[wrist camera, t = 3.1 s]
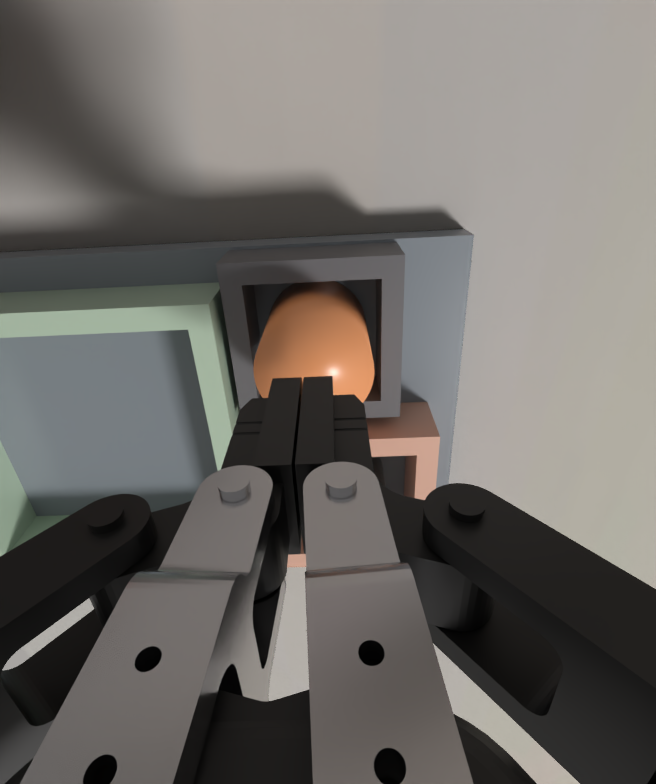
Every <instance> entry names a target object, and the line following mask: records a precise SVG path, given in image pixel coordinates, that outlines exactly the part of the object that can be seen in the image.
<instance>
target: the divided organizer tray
mask: <svg viewBox="0 0 656 784" xmlns="http://www.w3.org/2000/svg"><path fill="white" fill-rule="evenodd" d="M473 238H474V235H473V234H471V233H470V232H468V231H467V230H465V229H455V230H435V231H415V232H394V233H374V234H354V235H334V236H314V237H294V238H274V239H254V240H234V241H214V242H194V243H174V244H154V245H134V246H114V247H94V248H73V249H53V250H33V251H13V252H0V556H2V555H4V554H5V553H7V552H9V551H10V550H12V549H14V548H16V547H17V546H19V545H21V544H22V543H24V542H26V541H27V540H29V539H31V538H32V537H34V536H36V535H38V534H39V533H41V532H43V531H44V530H46V529H48V528H49V527H51V526H53V525H55V524H56V523H58V522H60V521H61V520H63V519H65V518H66V517H68V516H70V515H72V514H73V513H75V512H77V511H78V510H80V509H82V508H83V507H85V506H87V505H89V504H90V503H92V502H94V501H97V500H99V499H101V498H105V497H108V496H112V495H117V494H133V495H137V496H140V497H142V498H144V499H145V500H146V501H147V502H148V504H149V506H150V509H151V512H154V511H158V510H162V509H166V508H169V507H173V506H177V505H180V504H184V503H187V502H189V501H191V500H193V498H194V496H195V494H196V491H197V489H198V488H199V486H200V484H201V483H202V482H203V481H204V480H205V479H206V478H207V477H208V476H210V475H211V474H213V473H215V472H217V471H219V470H221V467H222V464H223V461H224V458H225V455H226V452H227V449H228V445H229V442H230V439H231V436H233V430H234V427H235V425H236V421H237V418H238V415H239V412H240V409H241V408H242V407H243V406H245V405H246V404H247V403H248V402H249V401H250V400H251V399H252V398H262V396H261V395H260V393H259V391H258V389H257V386H256V383H255V379H254V371H253V367H254V359H255V355H256V352H257V349H258V346H259V343H260V341H261V338H262V335H263V332H264V329H265V326H266V323H267V321H268V318H269V315H270V312H271V309H272V307H273V304H274V302H275V301H276V299H277V298H278V296H279V295H280V294H281V293H282V292H283V291H284V290H285V289H286V288H287V287H289V286H290V285H292V284H294V283H303V282H324V281H335V282H338V283H340V284H342V285H343V286H345V287H346V288H348V289H349V290H350V291H351V292H352V293H353V294H354V295H355V296H356V298H357V299H358V300H359V302H360V304H361V306H362V309H363V311H364V315H365V320H366V325H367V331H368V336H369V341H370V346H371V351H372V356H373V361H374V380H373V385H372V388H371V390H370V392H369V394H368V396H367V398H366V399H365V401H364V402H363V404H364V406H365V413H366V420H367V427H368V434H369V442H370V449H371V456H372V457H380V458H381V461H382V465H383V472H384V478H385V485H386V488H388V489H389V490H391V491H393V492H395V493H397V494H400V495H403V496H407V497H412V498H417V499H421V500H425V499H426V497H427V496H428V494H429V493H430V492H431V491H433V490H434V489H436V488H438V487H440V486H443V485H447V484H448V483H449V473H450V463H451V453H452V443H453V434H454V424H455V414H456V404H457V394H458V385H459V375H460V365H461V355H462V346H463V336H464V326H465V316H466V306H467V297H468V287H469V277H470V267H471V257H472V248H473ZM287 567H306V554H304V551H303V541H302V540H301V554H292V555H288V563H287Z"/></svg>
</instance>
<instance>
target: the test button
mask: <svg viewBox="0 0 656 784" xmlns="http://www.w3.org/2000/svg"><path fill="white" fill-rule="evenodd" d="M253 371H254V379H255V383H256V386H257V389H258V391H259V393H260V395H261V396H262V398H268V395H269V391H270V386H271V382H272V379H273V378H293V377H302V381H303V379H304V377H316V376H333V395H349V394H355V395H356V397H357V398H358V399H359V400H360V401H361V402H362V403H363V402H364V401H365V399H366V398H367V396H368V394H369V392H370V390H371V388H372V385H373V380H374V361H373V356H372V351H371V346H370V341H369V336H368V331H367V325H366V320H365V315H364V311H363V309H362V306H361V304H360V302H359V300H358V299H357V298H356V296H355V295H354V294H353V293H352V292H351V291H350V290H349V289H348V288H346V287H345V286H343V285H342V284H340V283H338V282H335V281H324V282H303V283H294V284H292V285H290V286H289V287H287V288H286V289H285V290H284V291H283V292H282V293H281V294H280V295H279V296H278V298H277V299H276V301H275V302H274V304H273V307H272V309H271V312H270V315H269V318H268V321H267V323H266V326H265V329H264V332H263V335H262V338H261V341H260V343H259V346H258V349H257V352H256V355H255V359H254V367H253Z"/></svg>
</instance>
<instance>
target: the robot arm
mask: <svg viewBox="0 0 656 784" xmlns="http://www.w3.org/2000/svg"><path fill="white" fill-rule="evenodd" d="M301 540H302V541H303V551H304V554H306V572H305V589H306V615H307V641H308V667H309V690H306V691H303V692H300V693H297V694H293V695H290V696H287V697H284V698H280V699H277V700H273V701H269V684H270V676H271V670H272V665H273V659H274V653H275V648H276V642H277V637H278V631H279V625H280V620H281V614H282V609H283V603H284V598H285V592H286V581H285V576H286V572H287V563H288V555H292V554H301ZM88 598H90V600H91V603H92V605H93V607H94V610H92V611H91V612H90V613H88V614H87V615H86V616H84V617H83V618H82V619H81V620H79V621H78V622H77V623H75V624H74V625H73V626H71V627H70V628H69V629H67V630H66V631H65V632H63V633H62V634H61V635H59V636H58V637H57V638H55V639H54V640H53V641H51V642H50V643H49V644H47V645H46V646H45V647H44V648H42V649H41V650H40V651H38V652H37V653H36V654H34V655H33V656H32V657H30V658H29V659H28V660H26V661H25V662H24V663H22V664H21V665H19V666H17V667H15V668H13V669H10V670H5V671H2V669H3V667H4V665H5V664H6V662H7V661H8V660H9V658H10V657H11V656H12V655H13V654H14V653H15V652H16V651H17V650H19V649H20V648H21V647H23V646H24V645H25V644H27V643H28V642H30V641H31V640H32V639H34V638H35V637H36V636H38V635H39V634H40V633H42V632H43V631H45V630H46V629H47V628H49V627H50V626H51V625H53V624H54V623H55V622H57V621H58V620H60V619H61V618H62V617H64V616H65V615H66V614H68V613H69V612H70V611H72V610H73V609H75V608H76V607H77V606H79V605H80V604H81V603H83V602H84V601H85V600H87V599H88ZM433 643H434V644H435V645H436V646H437V647H438V648H439V649H440V650H441V651H442V652H443V653H444V654H445V655H446V656H447V657H448V658H449V659H450V660H451V661H452V662H453V663H455V664H456V665H457V666H458V667H459V668H460V669H461V670H462V671H463V672H464V673H465V674H466V675H467V676H468V677H469V678H470V679H471V680H472V681H473V682H474V683H475V684H477V685H478V686H479V687H480V688H481V689H482V690H483V691H484V692H485V693H486V694H487V695H488V696H489V697H490V698H491V699H492V700H493V701H494V702H495V703H496V704H497V705H498V706H500V707H501V708H502V709H503V710H504V711H505V712H506V713H507V714H508V715H509V716H510V717H511V718H512V719H513V720H514V721H515V722H516V723H517V724H518V725H519V726H520V727H522V728H523V729H524V730H525V731H526V732H527V733H528V734H529V735H530V736H531V737H532V738H533V739H534V740H535V741H536V742H537V743H538V744H539V745H540V746H541V747H542V748H544V749H545V750H546V751H547V752H548V753H549V754H550V755H551V756H552V757H553V758H554V759H555V760H556V761H557V762H558V763H559V764H560V765H561V766H562V767H563V768H564V769H566V770H567V771H568V772H569V773H570V774H571V775H572V776H573V777H574V778H575V779H576V780H577V781H578V782H579V783H580V784H656V589H654V588H653V587H651V586H649V585H648V584H646V583H644V582H642V581H641V580H639V579H637V578H636V577H634V576H632V575H631V574H629V573H627V572H626V571H624V570H622V569H620V568H619V567H617V566H615V565H614V564H612V563H610V562H609V561H607V560H605V559H603V558H602V557H600V556H598V555H597V554H595V553H593V552H592V551H590V550H588V549H586V548H585V547H583V546H581V545H580V544H578V543H576V542H575V541H573V540H571V539H569V538H568V537H566V536H564V535H563V534H561V533H559V532H558V531H556V530H554V529H552V528H551V527H549V526H547V525H546V524H544V523H542V522H541V521H539V520H537V519H536V518H534V517H532V516H530V515H529V514H527V513H525V512H524V511H522V510H520V509H519V508H517V507H515V506H513V505H512V504H510V503H508V502H507V501H505V500H503V499H502V498H500V497H498V496H496V495H495V494H493V493H491V492H489V491H488V490H486V489H483V488H481V487H478V486H474V485H470V484H461V483H455V484H447V485H443V486H440V487H438V488H436V489H434V490H433V491H431V492H430V493H429V494H428V496H427V497H426V499H425V500H421V499H417V498H412V497H407V496H403V495H400V494H397V493H395V492H393V491H391V490H389V489H388V488H386V487H385V486H384V485H382V484H381V483H380V482H379V480H378V479H377V477H376V476H375V474H374V470H373V463H372V456H371V449H370V442H369V434H368V427H367V420H366V413H365V406H364V404H363V403H362V402H361V401H360V400H359V399H358V398H357V397H356V395H355V394H349V395H333V376H316V377H304V379H303V381H302V377H293V378H273V379H272V382H271V386H270V391H269V395H268V398H252V399H251V400H250V401H249V402H248V403H247V404H246V405H245V406H243V407H242V408H241V409H240V412H239V415H238V418H237V421H236V425H235V427H234V430H233V436H231V439H230V442H229V445H228V449H227V452H226V455H225V458H224V461H223V464H222V467H221V470H219V471H217V472H215V473H213V474H211V475H210V476H208V477H207V478H206V479H205V480H204V481H203V482H202V483H201V484H200V486H199V488H198V489H197V491H196V494H195V496H194V498H193V500H191V501H189V502H187V503H184V504H180V505H177V506H173V507H169V508H166V509H162V510H158V511H154V512H151V509H150V506H149V504H148V502H147V501H146V500H145V499H144V498H142V497H140V496H137V495H133V494H117V495H112V496H108V497H105V498H101V499H99V500H97V501H94V502H92V503H90V504H89V505H87V506H85V507H83V508H82V509H80V510H78V511H77V512H75V513H73V514H72V515H70V516H68V517H66V518H65V519H63V520H61V521H60V522H58V523H56V524H55V525H53V526H51V527H49V528H48V529H46V530H44V531H43V532H41V533H39V534H38V535H36V536H34V537H32V538H31V539H29V540H27V541H26V542H24V543H22V544H21V545H19V546H17V547H16V548H14V549H12V550H10V551H9V552H7V553H5V554H4V555H2V556H0V784H536V783H535V781H534V780H533V779H532V778H531V777H530V776H529V775H528V774H527V773H526V772H525V771H524V770H523V768H522V767H521V766H520V765H519V764H518V763H517V762H516V761H515V760H514V759H513V758H512V757H511V756H510V755H509V754H508V753H507V752H506V751H505V750H504V749H503V748H502V747H500V746H499V745H498V744H497V743H496V742H495V741H494V740H492V739H491V738H490V737H489V736H488V735H486V734H485V733H484V732H482V731H481V730H479V729H478V728H476V727H475V726H474V725H472V724H471V723H469V722H467V721H466V720H464V719H462V718H460V717H458V716H456V715H455V714H453V711H452V708H451V704H450V701H449V697H448V694H447V690H446V687H445V683H444V680H443V676H442V673H441V669H440V666H439V663H438V659H437V656H436V652H435V649H434V645H433Z"/></svg>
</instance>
